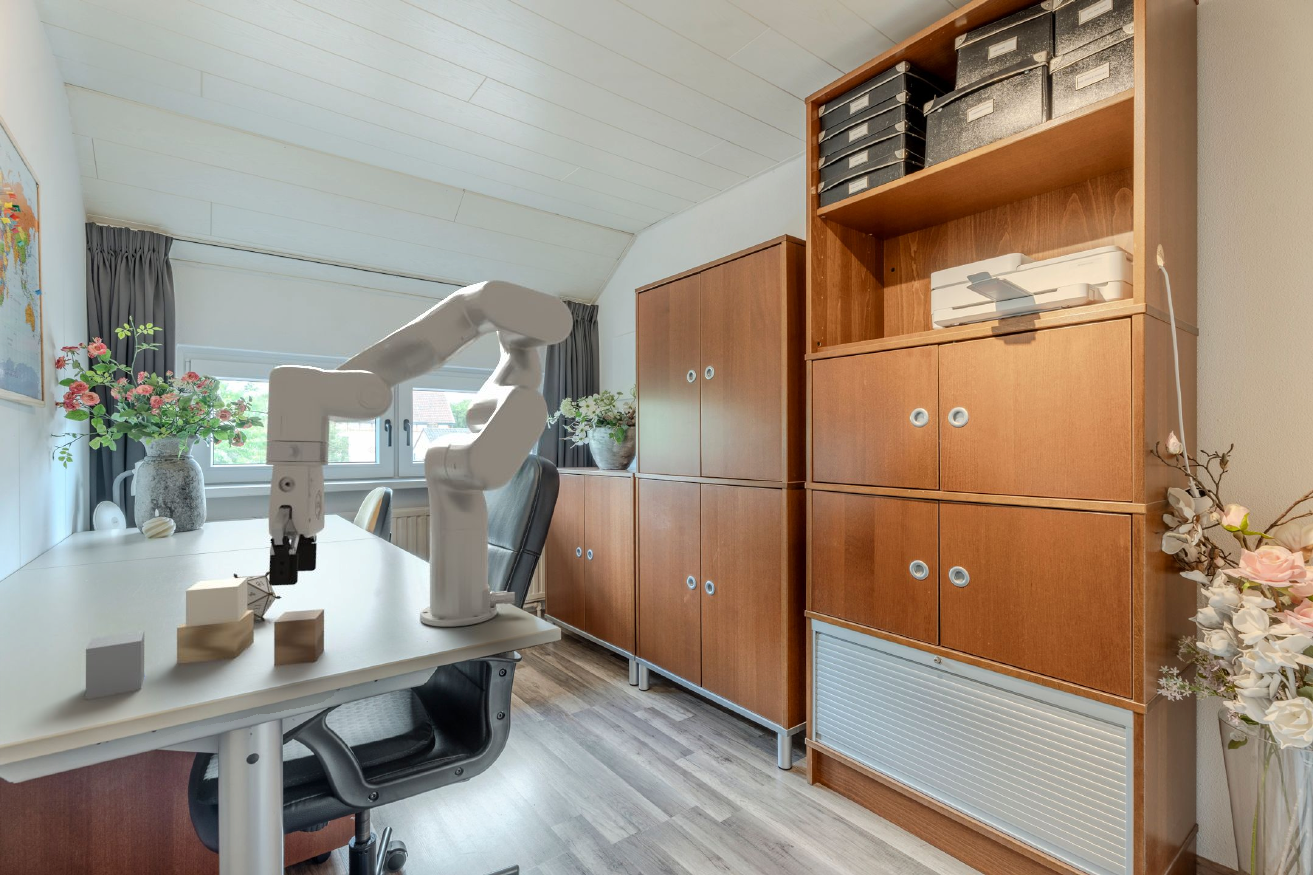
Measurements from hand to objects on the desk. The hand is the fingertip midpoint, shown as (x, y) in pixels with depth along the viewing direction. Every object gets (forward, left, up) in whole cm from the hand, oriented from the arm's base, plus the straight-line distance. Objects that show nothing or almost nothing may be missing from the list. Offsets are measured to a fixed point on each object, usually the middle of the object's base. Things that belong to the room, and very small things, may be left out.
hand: (293, 577), depth 85 cm
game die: (+12, -22, -12) cm, 28 cm away
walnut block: (-1, 0, -12) cm, 11 cm away
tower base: (+11, -6, -12) cm, 17 cm away
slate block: (+18, +5, -12) cm, 22 cm away
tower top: (+11, -6, -7) cm, 15 cm away
